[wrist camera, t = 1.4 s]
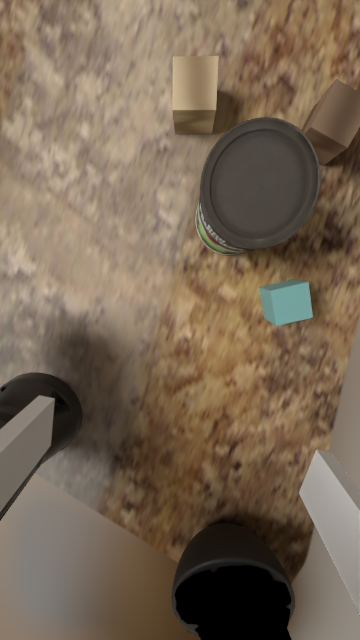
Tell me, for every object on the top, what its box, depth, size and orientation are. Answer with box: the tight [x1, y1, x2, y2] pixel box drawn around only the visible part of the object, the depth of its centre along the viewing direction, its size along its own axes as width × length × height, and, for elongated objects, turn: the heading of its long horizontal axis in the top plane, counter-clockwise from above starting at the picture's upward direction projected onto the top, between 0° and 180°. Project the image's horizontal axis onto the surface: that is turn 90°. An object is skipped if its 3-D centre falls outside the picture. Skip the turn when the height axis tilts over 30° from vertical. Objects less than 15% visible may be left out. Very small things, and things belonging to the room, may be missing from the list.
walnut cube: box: [301, 79, 360, 166], centre depth 28 cm, size 5×5×5 cm
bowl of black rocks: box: [172, 523, 295, 640], centre depth 38 cm, size 20×20×19 cm
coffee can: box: [195, 117, 321, 255], centre depth 27 cm, size 10×10×14 cm
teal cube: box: [259, 280, 313, 326], centre depth 34 cm, size 5×5×5 cm
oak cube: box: [173, 56, 218, 134], centre depth 28 cm, size 5×5×5 cm
